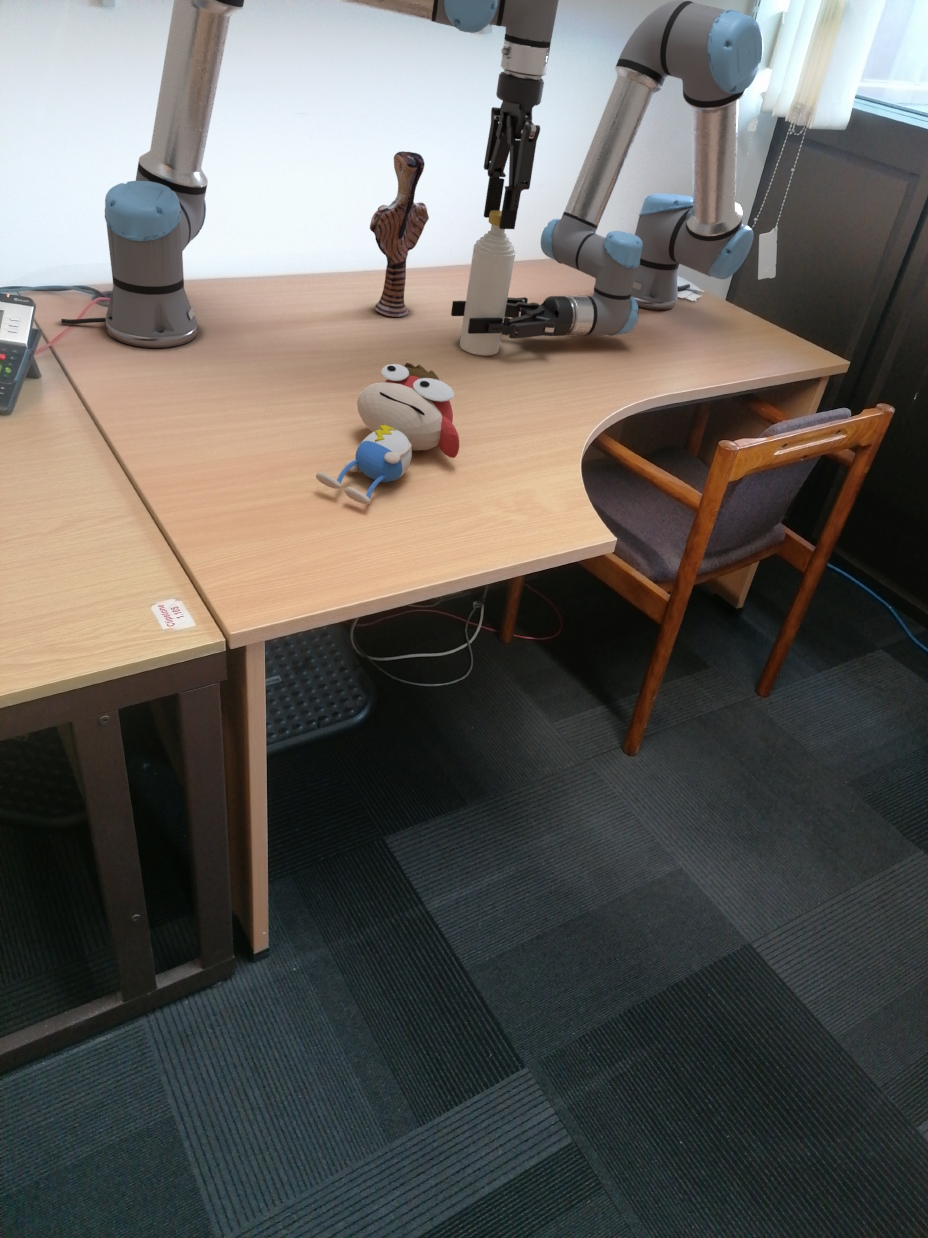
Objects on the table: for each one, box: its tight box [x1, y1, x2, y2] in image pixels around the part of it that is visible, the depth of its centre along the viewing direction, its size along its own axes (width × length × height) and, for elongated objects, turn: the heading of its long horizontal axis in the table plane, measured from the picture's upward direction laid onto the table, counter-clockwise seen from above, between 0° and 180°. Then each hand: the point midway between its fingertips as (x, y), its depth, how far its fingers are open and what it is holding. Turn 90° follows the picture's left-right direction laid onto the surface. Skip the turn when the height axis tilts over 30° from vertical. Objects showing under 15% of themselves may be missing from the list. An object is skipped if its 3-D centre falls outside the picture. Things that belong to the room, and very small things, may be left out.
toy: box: [315, 362, 460, 505], centre depth 132 cm, size 18×10×30 cm
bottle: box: [459, 224, 516, 357], centre depth 166 cm, size 8×8×24 cm
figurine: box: [369, 150, 430, 318], centre depth 173 cm, size 15×8×30 cm, turn 144°
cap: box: [487, 210, 502, 226], centre depth 159 cm, size 4×4×2 cm
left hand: (498, 222), depth 159 cm, fingers open, 6 cm apart
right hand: (461, 316), depth 168 cm, fingers closed on bottle, 8 cm apart
